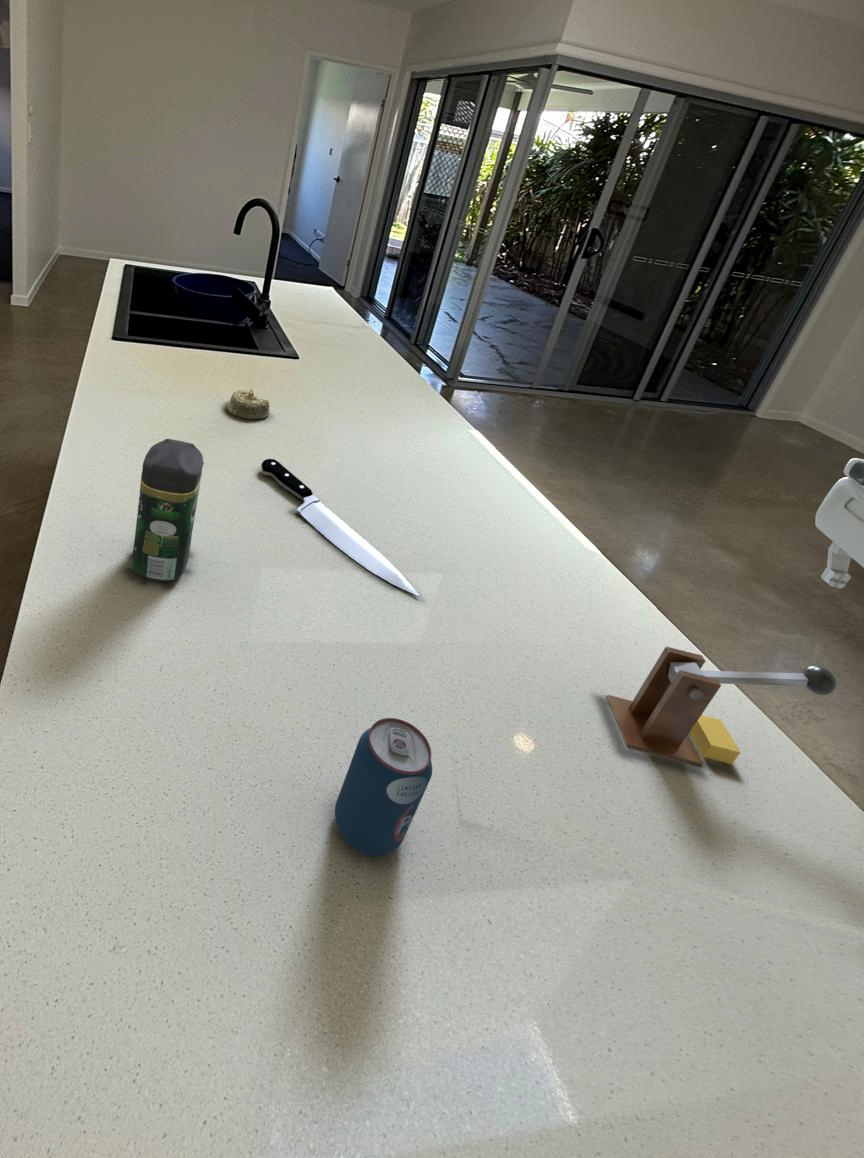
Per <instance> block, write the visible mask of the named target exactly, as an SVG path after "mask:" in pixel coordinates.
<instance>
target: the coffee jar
mask: <svg viewBox="0 0 864 1158" xmlns="http://www.w3.org/2000/svg"><path fill="white" fill-rule="evenodd" d="M204 465H205V462H204V456H203V454H202V452H201V451H200V450H199V448H198V447H196V445H195V444H194V443H191V442H188V441H183V440H178V439H172V438H166V439H164V440H161V441H158V442H157V443H155V444H153V445H151V447H150V448H149V450H148V451H147V453H146V454H145V457H144V459H143V462H142V469H141V474H140V486H139V496H138V506H137V513H136V523H135V533H134V540H133V548H132V556H131V563H130V564H131V569H132V570H133V572H134V573H135V574H137V575H138V576H140V577H142V578H144V579H147V580H149V581H153V582H159V583H160V582H162V583H163V582H173V581H176V580H178V579H180V578H181V577H182V576H183V574H184V572H185V570H186V568H187V565H188V562H189V557H190V550H191V543H192V538H193V537H192V536H193V530H194V524H195V517H196V511H197V507H198V499H199V494H200V493H199V492H200V487H201V480H202V476H203V475H202V473H203V467H204Z"/></svg>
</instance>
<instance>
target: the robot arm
mask: <svg viewBox="0 0 864 1158" xmlns="http://www.w3.org/2000/svg"><path fill="white" fill-rule="evenodd" d="M843 474H844V476H846V477H842V478H840V479H838V481H836V482H835V484H833V485H832V488H831V489H830V490H829V491H828V492H827V495H826V496H825V497H824V499H823V500H822V502H821V504H820V505H819V507H818V509H817V511H816V513H815V520H814V522H815V527H816V529H818V530H819V531H820V532H821V533H823V535H824V536H825V537H828V539H829V540H830V541H832V542H831V544H830V545H829V546H828V549H827V550H828V551H827V561H826V567H825V568H824V571H823V572H822V574H821V575H820V579H822V581H824V582H825V583H826V585H828V586H829V587H831V588H836V589H843V588H845V587H846V586H847V583H848V582H849V581H850V580H851V578H852V576H851V575H850V574H849V567H850V563H851V560H852V559H853V560H854V561H855V562H856V563H857V564H859V566H860V567H862V568H863V569H864V459H863V458H858V457H854V458H851V459H849V461H847V464H846V465H845V467H844V468H843Z"/></svg>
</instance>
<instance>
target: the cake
mask: <svg viewBox="0 0 864 1158" xmlns="http://www.w3.org/2000/svg"><path fill="white" fill-rule="evenodd" d="M270 407H271V406H270V400H269V399H268V398H264V397H262V398H257V396H256V395H255V393H254V390H253V389H251V390H249V389H237V390H236V391H233V393H232V395H231V397H230V400H229V403H228V404H227V405H226V409H227V411H228V412H229V413H230V414H232V415H234V416H235V417H238V418H241V419H247V420H261V419H264V418H267V417H269V416H270V413H271V411H270V410H271V408H270Z"/></svg>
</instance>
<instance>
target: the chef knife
mask: <svg viewBox="0 0 864 1158" xmlns="http://www.w3.org/2000/svg"><path fill="white" fill-rule="evenodd" d="M260 469H261V474H262V475H264V476H267V477H270V478H272V479H274V480H275V481H276V482H277V484H279V485H280V487H282V488H283V489H285V490H286V491H287V492H289V493H290V494H291V495H293V496H294V497H295V498H296V499H298V500H299V501H300V502H302V504H301V505H300V506H299V507H297V508H296V509H295V513H296V514H297V515H298V516H301V517H302V518H303V519H304V520H305V521H306V522H308V523H309V524H310V525H311V526H312V527H314V529H316V530H317V531H318V532H319V533H320V534H321V535H323V537H325V538H326V540H328V541H329V542H331V543H332V544H333V545H334V546H335V547H337V549H340V550H341V551H342V552H343V553H344V554H346V555H347V556H348V557H349V558H351V559H352V560H354V561H355V562H356V563H358V564H359V565H360V566H362V567H363V568H365V569H366V570H368V571H369V572H371V573H372V574H374V575H376V576H378V577H379V578H381V579H383V580H384V581H386V582H387V583H389V584H391V585H393V586H395V587H397V588H400V589H402V590H403V591H406V592H408V593H410V594H413V595H416V596H417V597H420V594H419V593H418V592H417V590H415V588H414V587H413V586H412V584H411V583H410V582H409V581H408V579H407V578H406V577H405V576H404V574H402V573H401V572H400V570H398V568H396V566H394V565H393V564H392V563H391V562H390V561H389V559H388V558H386V557H385V556H384V555H382V554H381V552H379V551H378V550H377V549H375V547H374V546H372V545H371V544H370V543H369V542H367V540H365V539H364V538H363V537H362V536H361V535H360V534H358V533H357V532H356V530H354V529H353V528H351V527H350V526H349V525H348V524H347V523H345V521H343V520H342V519H341V518H340V517H339V516H337V515H336V514H335V513H334V512H332V511H331V510H330V509H329V508H328V507H327V506H325V505H324V504H323V502H321V501H320V499H319V498H318V497H317V496H315V495H314V493H313V491H312V489H311V488H309V486H308V485H306V484H305V483H303V481H301V480H300V479H299V478H298V477H297V476H296V475H295V474H294V473H292V472H291V471H290V470H288V469H287V468H286V467H285V466H284V465H282V463H281V462H279V461H278V460H276V459H275V458H266V459H264V460H263V461H261V463H260Z"/></svg>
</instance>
